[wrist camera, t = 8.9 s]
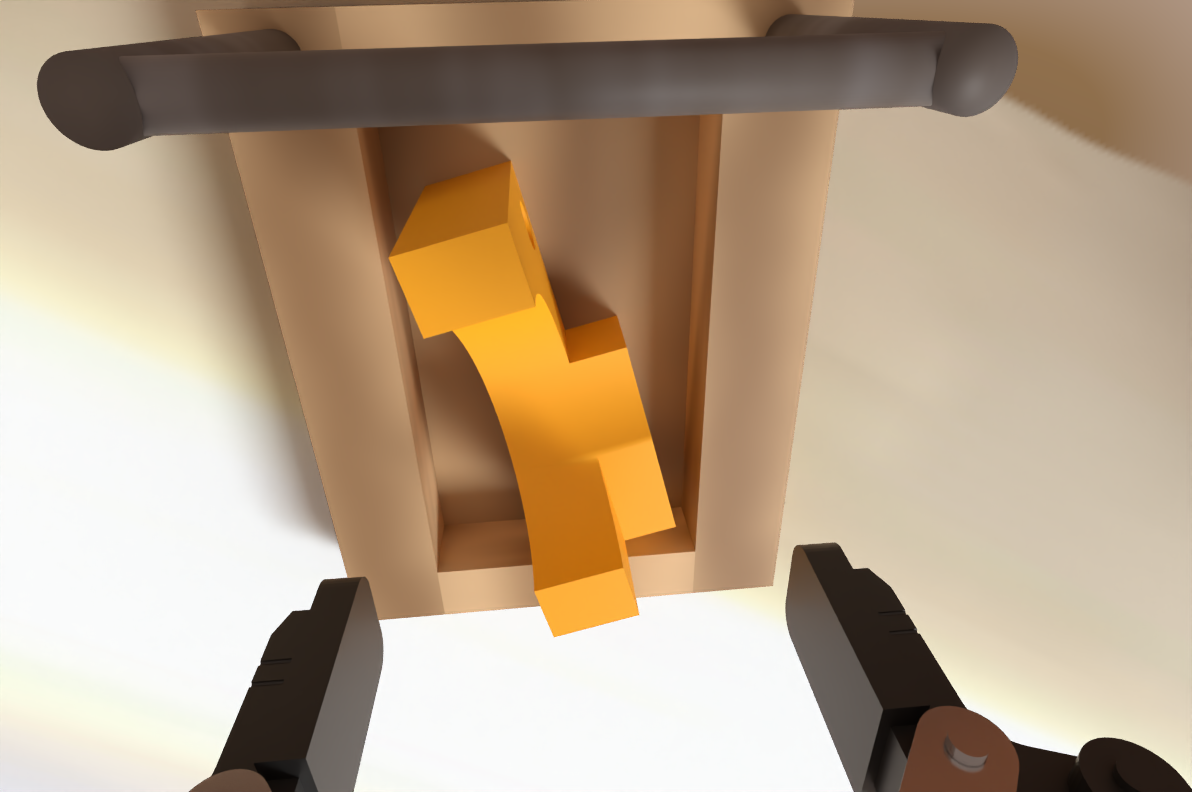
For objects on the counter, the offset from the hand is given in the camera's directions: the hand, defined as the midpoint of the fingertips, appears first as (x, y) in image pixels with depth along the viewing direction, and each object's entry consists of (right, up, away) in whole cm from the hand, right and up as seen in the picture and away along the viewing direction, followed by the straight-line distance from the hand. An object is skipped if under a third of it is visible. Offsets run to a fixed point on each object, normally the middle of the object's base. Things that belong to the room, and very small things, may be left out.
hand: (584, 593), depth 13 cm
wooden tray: (-1, +6, +10) cm, 12 cm away
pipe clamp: (-1, +5, +10) cm, 11 cm away
